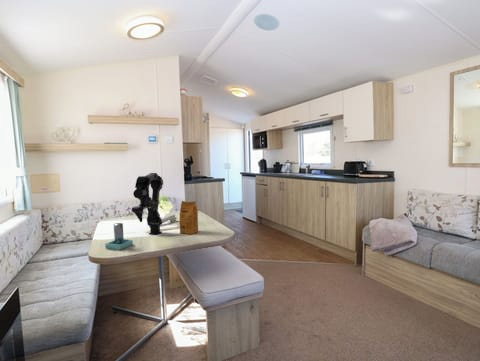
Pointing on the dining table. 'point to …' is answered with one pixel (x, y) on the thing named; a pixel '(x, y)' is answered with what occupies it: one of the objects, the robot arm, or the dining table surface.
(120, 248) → the tray
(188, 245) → the dining table surface
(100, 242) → the dining table surface
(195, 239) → the dining table surface
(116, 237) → the block
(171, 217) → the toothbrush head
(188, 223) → the coffee package
